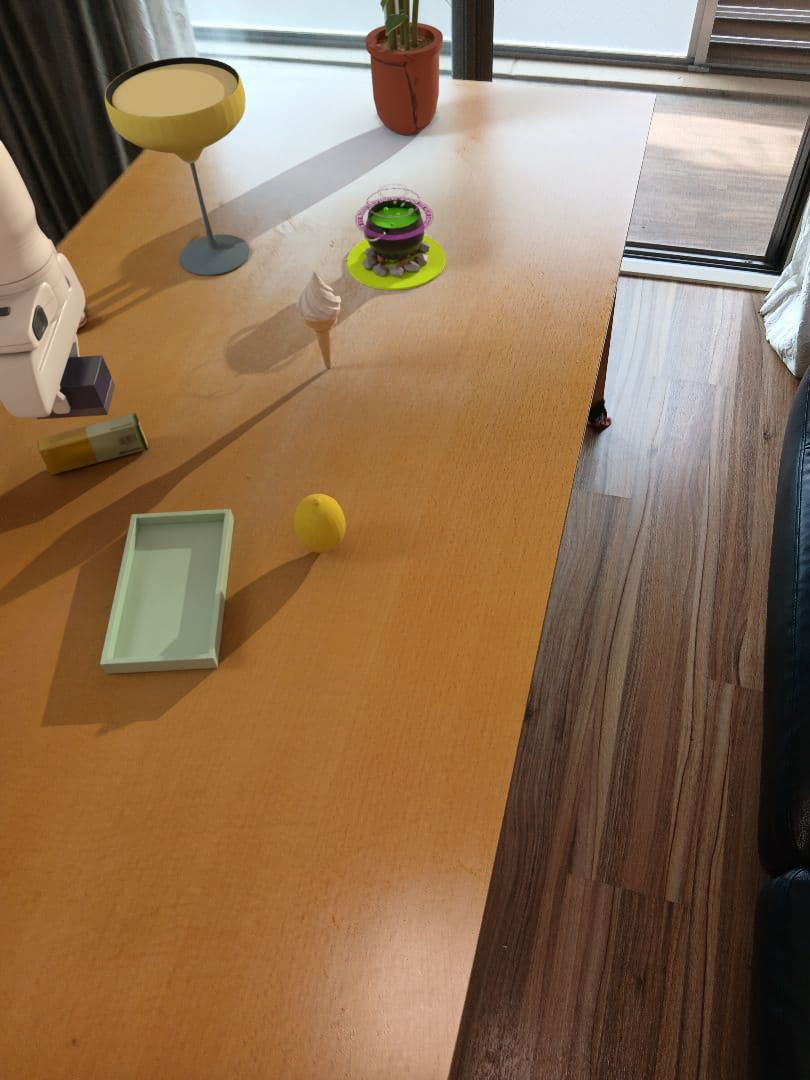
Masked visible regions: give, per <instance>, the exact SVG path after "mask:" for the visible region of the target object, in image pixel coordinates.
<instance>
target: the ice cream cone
mask: <svg viewBox="0 0 810 1080" xmlns="http://www.w3.org/2000/svg"><path fill="white" fill-rule="evenodd" d="M334 291H335V290H334V289H333V288H332V287H331V286H329V285H328V284H326V283H325V281H324V280H323V279H322V278H321V277H320V276H319V275H318V274H317V272H316V271H315V270H314V271H313V272H312V275H311V278H310V279H309V281H308V282H307V284H306V286H305V287H304V289H303V291H302V292H301V294H300V295H299V297H298V299H297V300H296V302H295V304H296V308H297V312H298V314H299V316H300V317H301V318H302V319H303V320H304V323H305V325H306V327H307V328H309V329H311V330H314V331H315V336H316V339H317V343H318V347H319V349H320V353H321V356H322V359H323V364H324V366H325V368H326V369H327V370H329V369H331V366H332V358H331V357H332V355H331V353H332V349H331V348H332V347H331V343H332V338H331V329H332V327H334V326H335V325H336V324H337V323H338V316H339V314H340V312H341V303H342V299H341V296H340V295H336V296H335V295H334V294H333V293H332V292H334Z"/></svg>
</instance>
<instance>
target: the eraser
mask: <svg viewBox="0 0 810 1080" xmlns="http://www.w3.org/2000/svg"><path fill="white" fill-rule="evenodd" d="M115 388H116V384H115V382H114V379H113V377H112V374H111V372H110V370H109V367H108V365H107V363H106V361H105V358H104V356H103V355H102V354H101V355H100V354H99V355H83V356H80V357H68V360H67V363H66V367H65V370H64V373H63V376H62V379H61V382H60V390H59V391H60V392H61V393H68V395H69V397H70V399H71V401H72V404H71V408H70V412H69V413H64V414H57V413H55V412H54V411H53V410H52V411H51V413H50V415H49V416H47V417H39V418H36V420H46V419H47V420H51V419H65V418H66V419H67V418H83V417H99V416H108V415H109V411H110V407H111V403H112V399H113V395H114V391H115Z"/></svg>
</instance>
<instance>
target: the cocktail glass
mask: <svg viewBox="0 0 810 1080" xmlns="http://www.w3.org/2000/svg"><path fill="white" fill-rule="evenodd" d="M104 103H105V108H106V112H107V115H108V118H109V121H110V123H111V125H112V127H113V128H114V130H115V131H116V132H117V134H118V135H119V136H121V137H122V138H123V139H125V140H126V141H128V142H130V143H132V144H133V145H135V146H137V147H139V148H142V149H145V150H149V151H153V152H158V153H165V154H174V155H175V156H177V157H178V158H179V159H180V160H182V161H183V162H184V163H187V164H189V167H190V171H191V174H192V178H193V182H194V185H195V191H196V194H197V198H198V202H199V207H200V210H201V215H202V219H203V225H204V228H205V234H206V236H202V237H200V238H197V239H195V240H193V241H191V242H190V243H188V244H187V245H185V247H184V248H182V250H181V252H180V254H179V263H180V266H181V267H182V268H183V269H184V270H185V271H187V272H188V273H190V274H193V275H197V276H203V277H211V276H212V277H215V276H221V275H224V274H228V273H230V272H231V273H232V272H233V271H235V270H237V269H239V268H240V267H241V266H242V265H244V264H245V262H247V260H248V258H249V256H250V246H249V244H248V243H247V242H246V241H245V240H243V238H240V237H238V236H235V235H231V234H225V233H224V234H223V233H222V234H221V233H220V234H219V233H218V234H214V233H213V230H212V227H211V224H210V220H209V216H208V212H207V209H206V205H205V201H204V197H203V193H202V188H201V185H200V181H199V177H198V172H197V168H196V165H195V163H196V162H197V161H198V160H199V158H200V157H201V155H202V153H203V150H204V149H205V148H207V147H210V146H212V145H213V144H215V143H218V142H219V141H220V140H222V139H224V138H225V137H227V136H228V135H229V134H230V133H231V132H232V131H233V130H234V129H235V128H236V127H237V126H238V124H239V123H240V121H241V120H242V118H243V117H244V114H245V111H246V93H245V88H244V84H243V81H242V78H241V75H240V74H239V72H238V71H237V70H236V68H234V67H233V66H231V65H230V64H228V63H226V62H223V61H220V60H218V59H213V58H209V57H208V58H207V57H199V56H198V57H197V56H182V57H181V56H180V57H170V58H163V59H158V60H153V61H150V62H146V63H143V64H140V65H137V66H135V67H132V68H130V69H127V70H126V71H124V72H122V73H121V74H119V75H117V76H116V77H115V78H114V79H113V80H112V81H111V82H109V84H108V86H107V87H106V89H105V91H104Z"/></svg>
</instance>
